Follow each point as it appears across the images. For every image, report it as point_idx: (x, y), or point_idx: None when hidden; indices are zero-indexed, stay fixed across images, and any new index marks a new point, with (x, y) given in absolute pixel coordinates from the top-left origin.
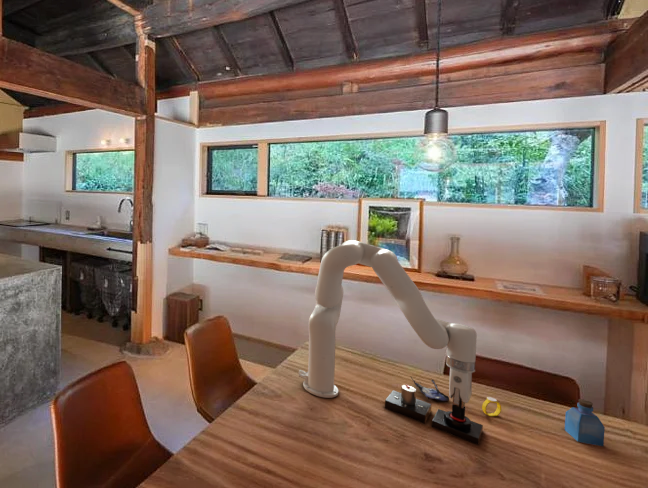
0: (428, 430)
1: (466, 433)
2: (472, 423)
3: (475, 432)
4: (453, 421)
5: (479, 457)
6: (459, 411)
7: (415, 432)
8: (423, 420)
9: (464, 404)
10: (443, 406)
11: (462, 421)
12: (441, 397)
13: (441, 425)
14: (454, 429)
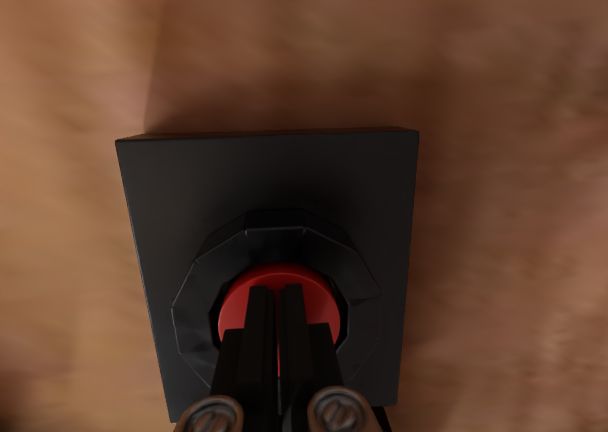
0: (439, 369)
1: (409, 216)
2: (174, 211)
3: (330, 166)
4: (378, 329)
5: (561, 96)
6: (338, 373)
7: (513, 402)
8: (388, 423)
9: (196, 410)
10: (13, 391)
11: (321, 282)
12: None
13: (399, 352)
14: (405, 287)
